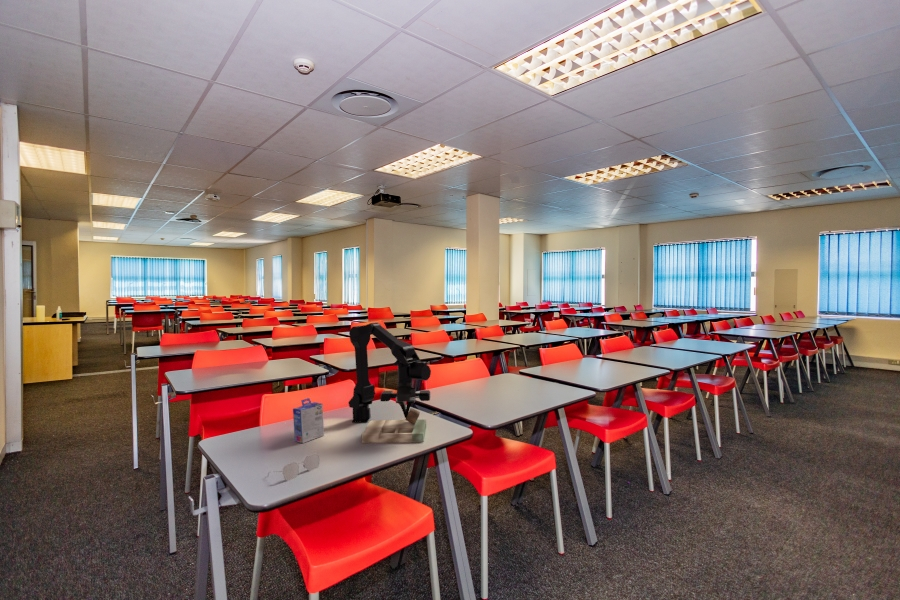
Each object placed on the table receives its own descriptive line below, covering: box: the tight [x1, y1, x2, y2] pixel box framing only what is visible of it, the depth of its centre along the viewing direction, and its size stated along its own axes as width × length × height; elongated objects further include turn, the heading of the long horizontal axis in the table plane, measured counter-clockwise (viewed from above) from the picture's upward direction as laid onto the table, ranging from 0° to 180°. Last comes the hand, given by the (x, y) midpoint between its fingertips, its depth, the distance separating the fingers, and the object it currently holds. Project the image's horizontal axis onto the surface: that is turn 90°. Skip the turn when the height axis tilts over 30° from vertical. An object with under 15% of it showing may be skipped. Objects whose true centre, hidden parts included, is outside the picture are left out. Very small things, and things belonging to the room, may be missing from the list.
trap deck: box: [361, 419, 427, 444], centre depth 159 cm, size 22×16×3 cm
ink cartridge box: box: [292, 398, 325, 444], centre depth 157 cm, size 10×6×14 cm, turn 145°
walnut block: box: [404, 407, 421, 424], centre depth 163 cm, size 4×4×4 cm
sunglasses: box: [267, 453, 321, 482], centre depth 129 cm, size 14×8×5 cm, turn 145°
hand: (406, 417), depth 163 cm, fingers closed, pressing on walnut block
